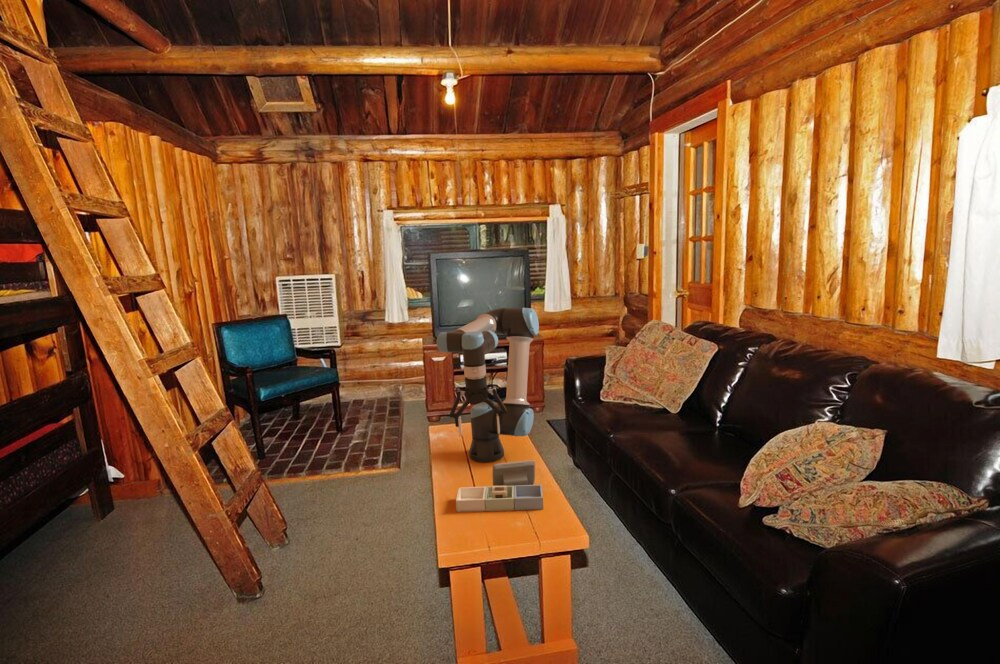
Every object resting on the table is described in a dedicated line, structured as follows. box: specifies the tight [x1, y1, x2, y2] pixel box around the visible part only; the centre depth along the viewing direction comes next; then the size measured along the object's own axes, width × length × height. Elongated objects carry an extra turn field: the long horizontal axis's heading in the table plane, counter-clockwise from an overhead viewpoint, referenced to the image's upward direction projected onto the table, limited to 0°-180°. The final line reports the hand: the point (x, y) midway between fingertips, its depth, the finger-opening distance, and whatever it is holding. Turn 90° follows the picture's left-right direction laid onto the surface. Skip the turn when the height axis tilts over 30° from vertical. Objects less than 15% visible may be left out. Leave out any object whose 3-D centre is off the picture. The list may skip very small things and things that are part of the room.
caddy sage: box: [485, 485, 515, 512], centre depth 185 cm, size 10×10×4 cm
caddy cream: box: [455, 486, 487, 513], centre depth 186 cm, size 10×10×4 cm
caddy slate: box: [514, 484, 544, 511], centre depth 185 cm, size 10×10×4 cm
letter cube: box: [492, 485, 508, 499], centre depth 185 cm, size 5×5×5 cm
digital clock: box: [492, 459, 536, 486], centre depth 196 cm, size 16×9×11 cm, turn 86°
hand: (479, 433), depth 188 cm, fingers open, 13 cm apart
